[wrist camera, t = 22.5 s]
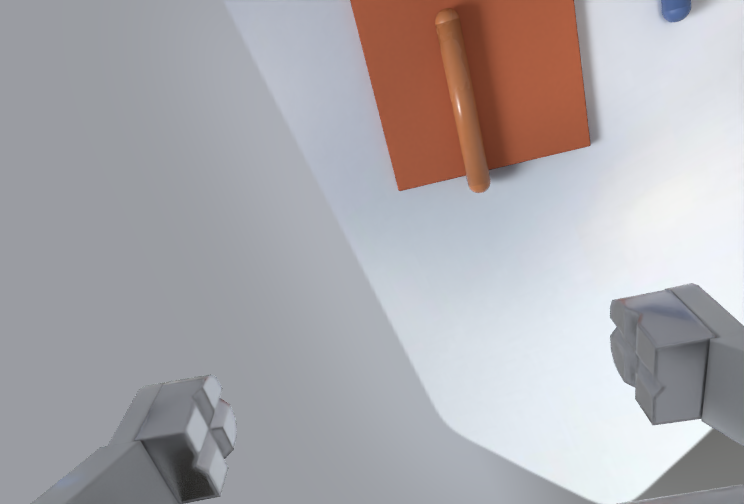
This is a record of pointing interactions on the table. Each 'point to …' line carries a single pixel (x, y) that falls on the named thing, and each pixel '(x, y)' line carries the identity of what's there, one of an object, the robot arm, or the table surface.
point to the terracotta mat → (474, 82)
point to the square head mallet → (462, 98)
